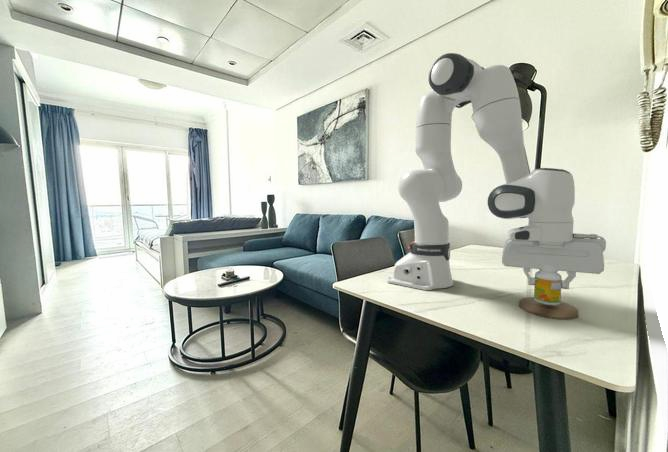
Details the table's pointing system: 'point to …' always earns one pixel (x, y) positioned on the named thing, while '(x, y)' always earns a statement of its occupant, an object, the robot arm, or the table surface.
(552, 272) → the supplement bottle
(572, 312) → the walnut coaster
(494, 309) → the table surface
